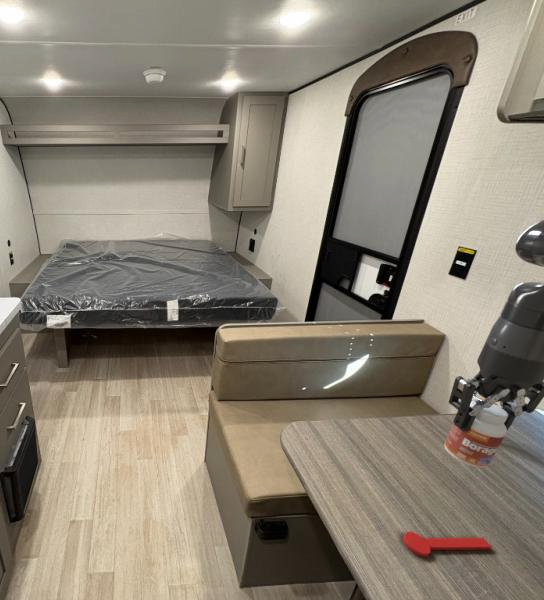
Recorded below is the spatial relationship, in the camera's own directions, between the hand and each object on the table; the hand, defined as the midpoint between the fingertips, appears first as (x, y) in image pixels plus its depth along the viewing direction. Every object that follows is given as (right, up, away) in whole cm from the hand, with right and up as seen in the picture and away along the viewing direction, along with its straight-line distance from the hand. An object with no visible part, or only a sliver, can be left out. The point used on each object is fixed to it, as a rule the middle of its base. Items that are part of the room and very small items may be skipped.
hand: (479, 427), depth 57 cm
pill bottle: (0, -6, +3) cm, 7 cm away
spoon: (-5, -22, +1) cm, 23 cm away
